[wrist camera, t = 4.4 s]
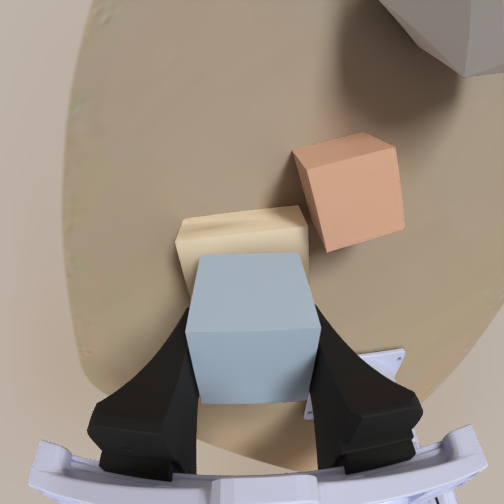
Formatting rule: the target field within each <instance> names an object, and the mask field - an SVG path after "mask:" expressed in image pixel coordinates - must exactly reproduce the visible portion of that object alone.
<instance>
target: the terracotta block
mask: <svg viewBox="0 0 504 504" xmlns="http://www.w3.org/2000/svg"><path fill="white" fill-rule="evenodd" d="M292 152H293V155H294V159H295V162H296V166H297V169H298V173H299V176H300V180H301V184H302V187H303V191H304V195H305V198H306V202H307V206H308V210H309V213H310V217H311V219H312V222H313V224H314V226H315V228H316V230H317V232H318V234H319V236H320V239H321V241H322V243H323V245H324V247H325V249H326V252H330V251H333V250H337V249H340V248H343V247H347V246H350V245H353V244H357V243H360V242H363V241H367V240H370V239H373V238H376V237H380V236H383V235H386V234H389V233H393V232H396V231H399V230H402V229H405V224H404V212H403V201H402V192H401V184H400V176H399V169H398V162H397V155H396V149H395V147H394V146H392V145H390V144H388V143H386V142H384V141H381V140H379V139H377V138H375V137H373V136H371V135H369V134H366V133H364V132H361V133H356V134H352V135H348V136H344V137H340V138H336V139H332V140H328V141H324V142H321V143H317V144H313V145H309V146H306V147H302V148H298V149H295V150H292Z"/></svg>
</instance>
